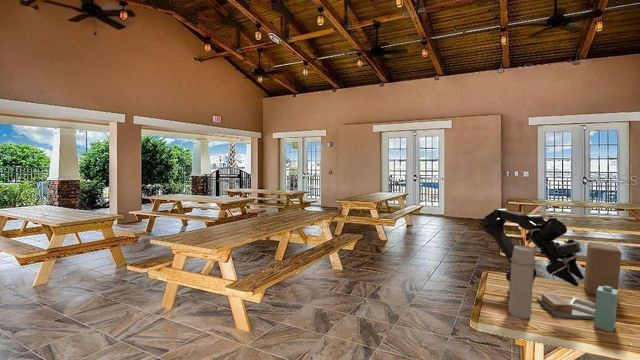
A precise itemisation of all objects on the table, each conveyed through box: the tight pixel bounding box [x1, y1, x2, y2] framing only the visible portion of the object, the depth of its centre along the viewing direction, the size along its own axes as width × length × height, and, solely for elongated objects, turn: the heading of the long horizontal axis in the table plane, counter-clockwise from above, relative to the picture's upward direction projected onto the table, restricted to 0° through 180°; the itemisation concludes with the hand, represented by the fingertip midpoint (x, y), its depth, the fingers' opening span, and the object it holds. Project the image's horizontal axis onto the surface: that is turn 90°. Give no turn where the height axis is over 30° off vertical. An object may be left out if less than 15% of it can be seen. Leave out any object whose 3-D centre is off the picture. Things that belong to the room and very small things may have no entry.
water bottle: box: [507, 245, 537, 320], centre depth 125 cm, size 9×8×25 cm
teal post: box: [593, 286, 619, 333], centre depth 117 cm, size 5×5×14 cm
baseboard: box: [536, 296, 617, 322], centre depth 129 cm, size 20×14×2 cm
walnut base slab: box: [541, 293, 572, 312], centre depth 130 cm, size 6×9×2 cm, turn 174°
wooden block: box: [583, 242, 623, 296], centre depth 144 cm, size 10×10×20 cm
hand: (580, 282), depth 121 cm, fingers open, 9 cm apart
